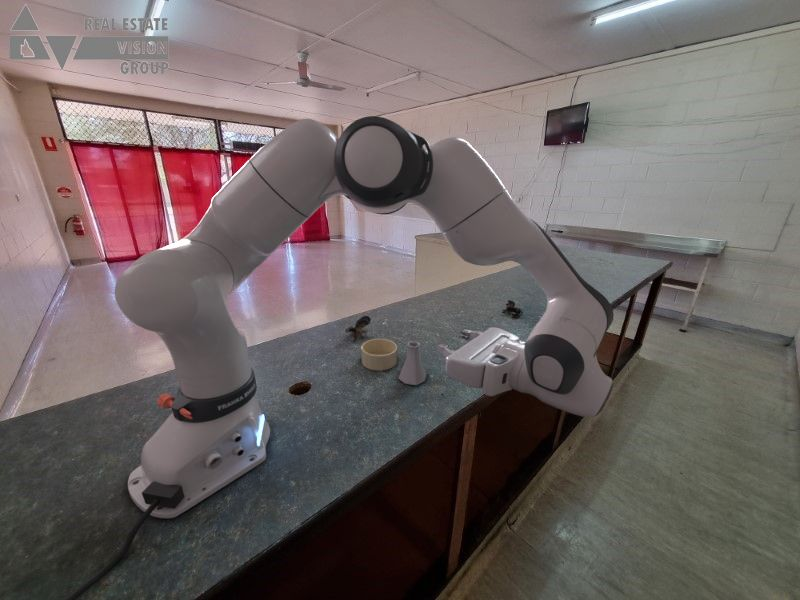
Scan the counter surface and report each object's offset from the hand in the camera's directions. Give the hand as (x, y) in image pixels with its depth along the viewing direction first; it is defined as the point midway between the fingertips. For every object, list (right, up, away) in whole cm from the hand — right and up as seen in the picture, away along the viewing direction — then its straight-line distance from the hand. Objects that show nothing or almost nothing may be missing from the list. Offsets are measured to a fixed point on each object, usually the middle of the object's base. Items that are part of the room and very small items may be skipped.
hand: (451, 340), depth 70 cm
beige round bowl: (-17, -9, +20) cm, 28 cm away
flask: (-8, -12, +13) cm, 19 cm away
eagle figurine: (-25, -3, +34) cm, 42 cm away
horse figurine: (+31, +3, +54) cm, 63 cm away
